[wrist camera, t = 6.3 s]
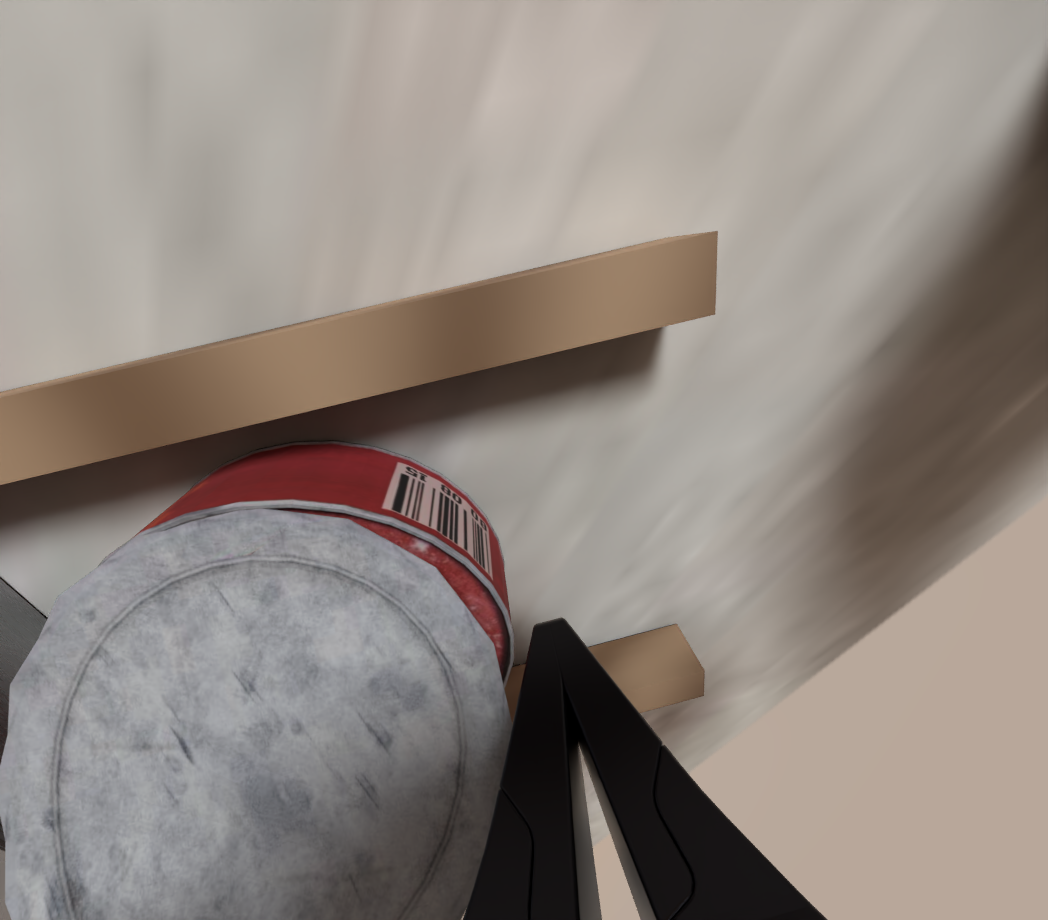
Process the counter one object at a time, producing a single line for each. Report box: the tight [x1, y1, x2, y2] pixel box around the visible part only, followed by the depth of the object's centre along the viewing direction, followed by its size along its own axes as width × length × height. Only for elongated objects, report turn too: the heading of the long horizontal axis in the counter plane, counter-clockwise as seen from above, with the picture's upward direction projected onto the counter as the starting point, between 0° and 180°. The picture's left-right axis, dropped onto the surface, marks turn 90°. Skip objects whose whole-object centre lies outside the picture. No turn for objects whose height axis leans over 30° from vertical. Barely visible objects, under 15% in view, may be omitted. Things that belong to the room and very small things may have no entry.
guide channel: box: [0, 231, 718, 725], centre depth 11 cm, size 22×15×2 cm
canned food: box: [0, 441, 514, 920], centre depth 10 cm, size 11×10×10 cm
